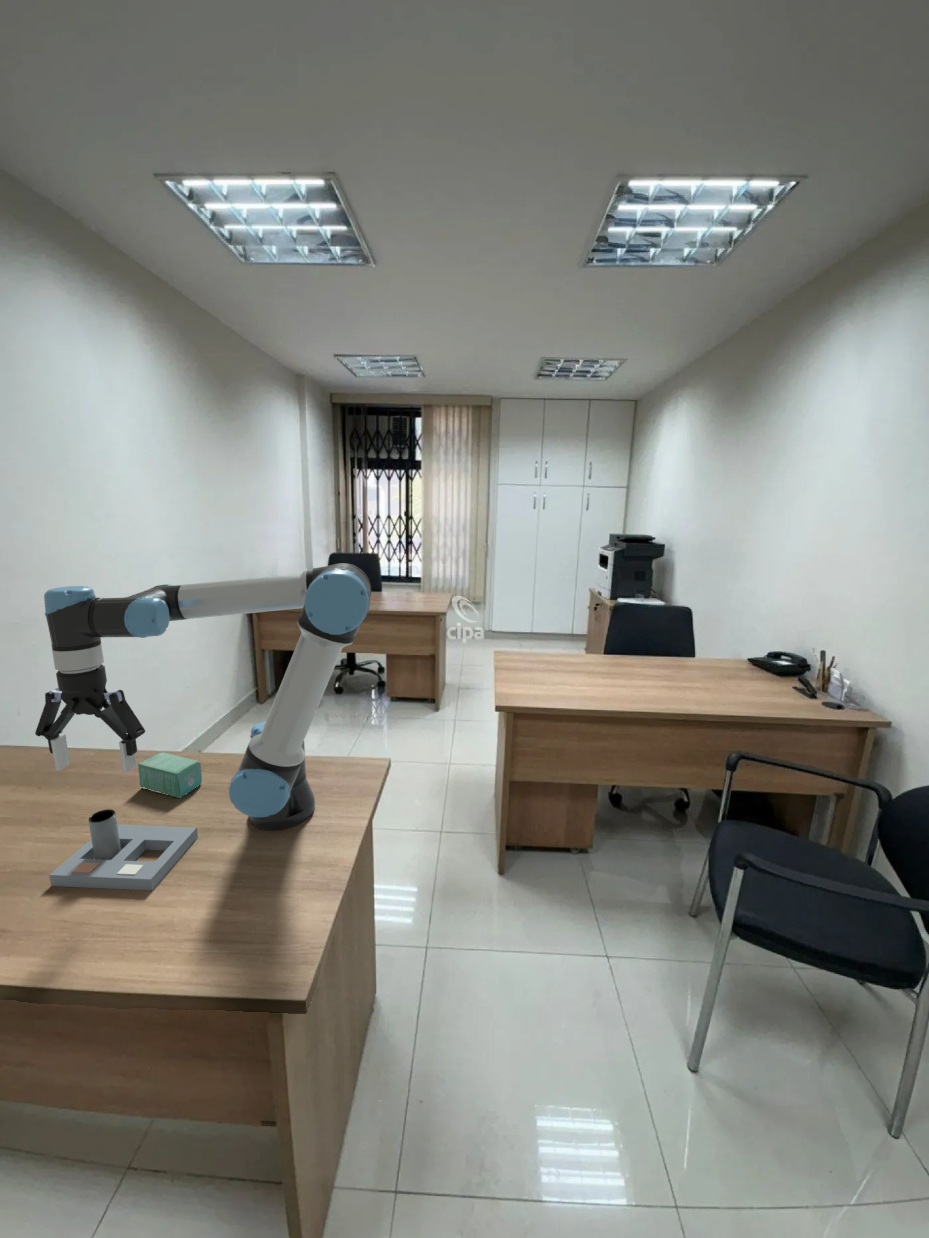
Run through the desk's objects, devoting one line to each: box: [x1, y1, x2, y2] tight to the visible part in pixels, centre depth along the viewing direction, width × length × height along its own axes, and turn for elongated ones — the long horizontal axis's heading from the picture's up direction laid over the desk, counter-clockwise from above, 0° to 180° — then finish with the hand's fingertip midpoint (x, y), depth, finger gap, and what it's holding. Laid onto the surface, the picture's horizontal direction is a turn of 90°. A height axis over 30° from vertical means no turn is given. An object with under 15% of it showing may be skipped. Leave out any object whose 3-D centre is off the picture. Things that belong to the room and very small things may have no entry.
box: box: [137, 752, 203, 799], centre depth 132 cm, size 7×14×8 cm, turn 72°
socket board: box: [48, 823, 199, 891], centre depth 105 cm, size 20×16×3 cm
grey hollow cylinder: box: [88, 808, 122, 860], centre depth 104 cm, size 4×4×10 cm
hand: (96, 768), depth 101 cm, fingers open, 13 cm apart
